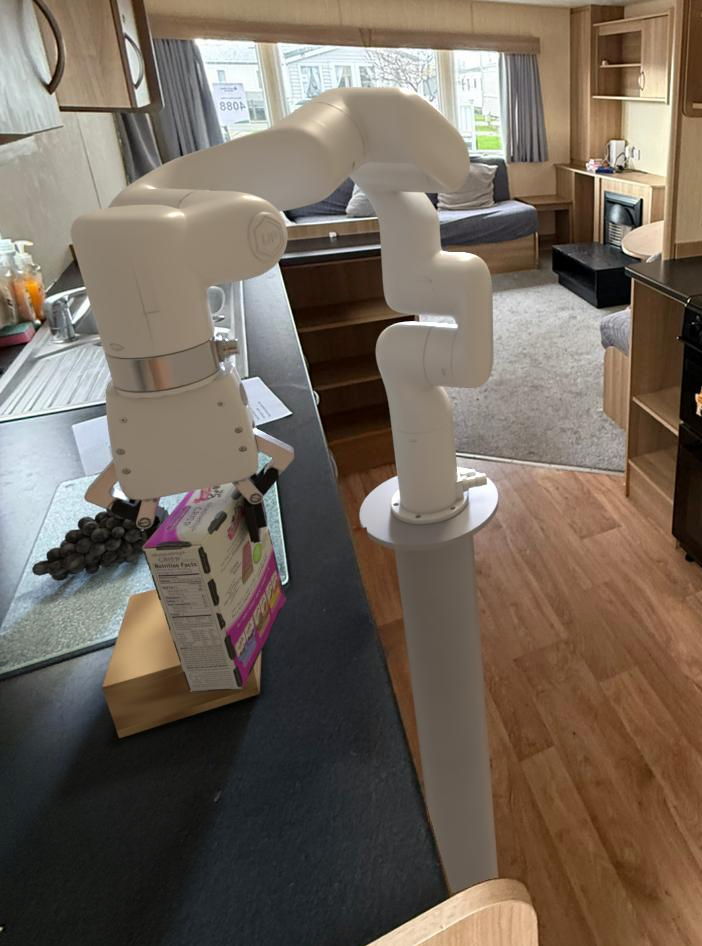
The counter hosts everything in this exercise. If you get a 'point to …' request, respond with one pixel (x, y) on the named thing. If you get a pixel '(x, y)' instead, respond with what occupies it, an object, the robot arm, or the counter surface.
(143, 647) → the wooden block
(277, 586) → the candy bar box
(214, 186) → the robot arm
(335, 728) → the counter surface
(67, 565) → the fruit
